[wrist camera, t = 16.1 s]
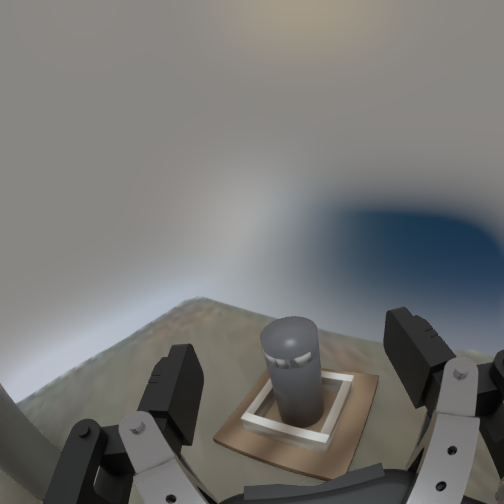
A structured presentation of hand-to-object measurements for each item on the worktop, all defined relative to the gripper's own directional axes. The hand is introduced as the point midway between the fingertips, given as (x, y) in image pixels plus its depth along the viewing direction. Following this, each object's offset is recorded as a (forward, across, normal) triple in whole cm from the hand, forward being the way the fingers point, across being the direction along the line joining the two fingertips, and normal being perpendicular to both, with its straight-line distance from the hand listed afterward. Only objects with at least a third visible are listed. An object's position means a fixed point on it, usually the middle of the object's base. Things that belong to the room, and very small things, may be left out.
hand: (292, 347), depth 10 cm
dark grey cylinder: (+11, 0, +19) cm, 22 cm away
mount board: (+11, 0, +20) cm, 23 cm away
